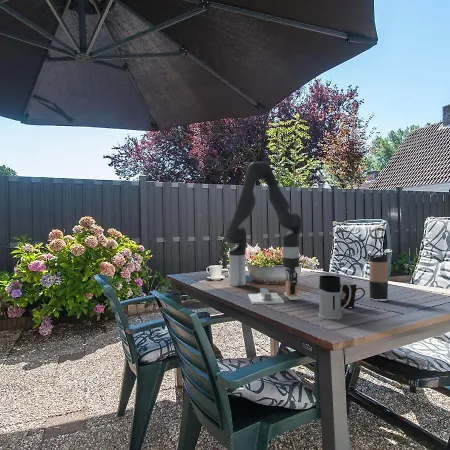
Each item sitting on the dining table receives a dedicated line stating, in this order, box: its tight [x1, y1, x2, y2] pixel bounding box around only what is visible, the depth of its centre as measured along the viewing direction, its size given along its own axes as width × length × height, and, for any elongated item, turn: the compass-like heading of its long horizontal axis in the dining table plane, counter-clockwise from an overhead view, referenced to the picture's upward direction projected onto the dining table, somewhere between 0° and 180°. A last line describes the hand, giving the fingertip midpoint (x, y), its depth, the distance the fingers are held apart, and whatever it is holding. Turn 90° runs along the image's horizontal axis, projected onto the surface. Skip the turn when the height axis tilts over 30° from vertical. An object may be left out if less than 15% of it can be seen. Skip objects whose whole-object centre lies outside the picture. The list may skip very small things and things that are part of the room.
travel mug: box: [368, 254, 389, 300], centre depth 152 cm, size 8×8×20 cm
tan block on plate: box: [283, 280, 300, 301], centre depth 156 cm, size 12×4×7 cm, turn 2°
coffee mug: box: [340, 280, 366, 309], centre depth 140 cm, size 12×9×10 cm
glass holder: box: [317, 274, 351, 320], centre depth 124 cm, size 9×14×15 cm, turn 28°
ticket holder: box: [247, 287, 285, 305], centre depth 155 cm, size 16×14×4 cm
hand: (291, 292), depth 156 cm, fingers closed on tan block on plate, 5 cm apart
